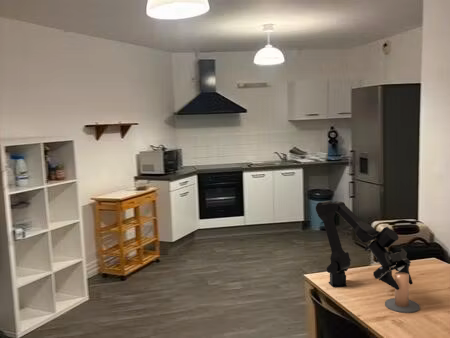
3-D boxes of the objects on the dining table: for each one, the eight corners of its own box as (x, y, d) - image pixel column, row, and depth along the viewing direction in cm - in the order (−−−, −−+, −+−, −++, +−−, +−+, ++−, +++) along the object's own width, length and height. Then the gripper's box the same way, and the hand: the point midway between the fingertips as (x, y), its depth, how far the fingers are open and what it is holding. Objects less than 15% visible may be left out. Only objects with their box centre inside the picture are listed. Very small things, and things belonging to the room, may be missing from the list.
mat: (395, 314, 173) (395, 312, 173) (379, 301, 186) (379, 299, 186) (426, 311, 175) (426, 309, 175) (407, 298, 188) (407, 296, 188)
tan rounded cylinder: (395, 306, 179) (396, 275, 177) (394, 301, 184) (394, 271, 182) (409, 307, 177) (410, 276, 176) (407, 302, 182) (407, 272, 181)
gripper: (379, 247, 176) (405, 281, 168) (406, 239, 187) (431, 271, 179) (362, 262, 183) (386, 296, 175) (390, 253, 194) (413, 285, 186)
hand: (405, 286), depth 179 cm, fingers open, 9 cm apart
